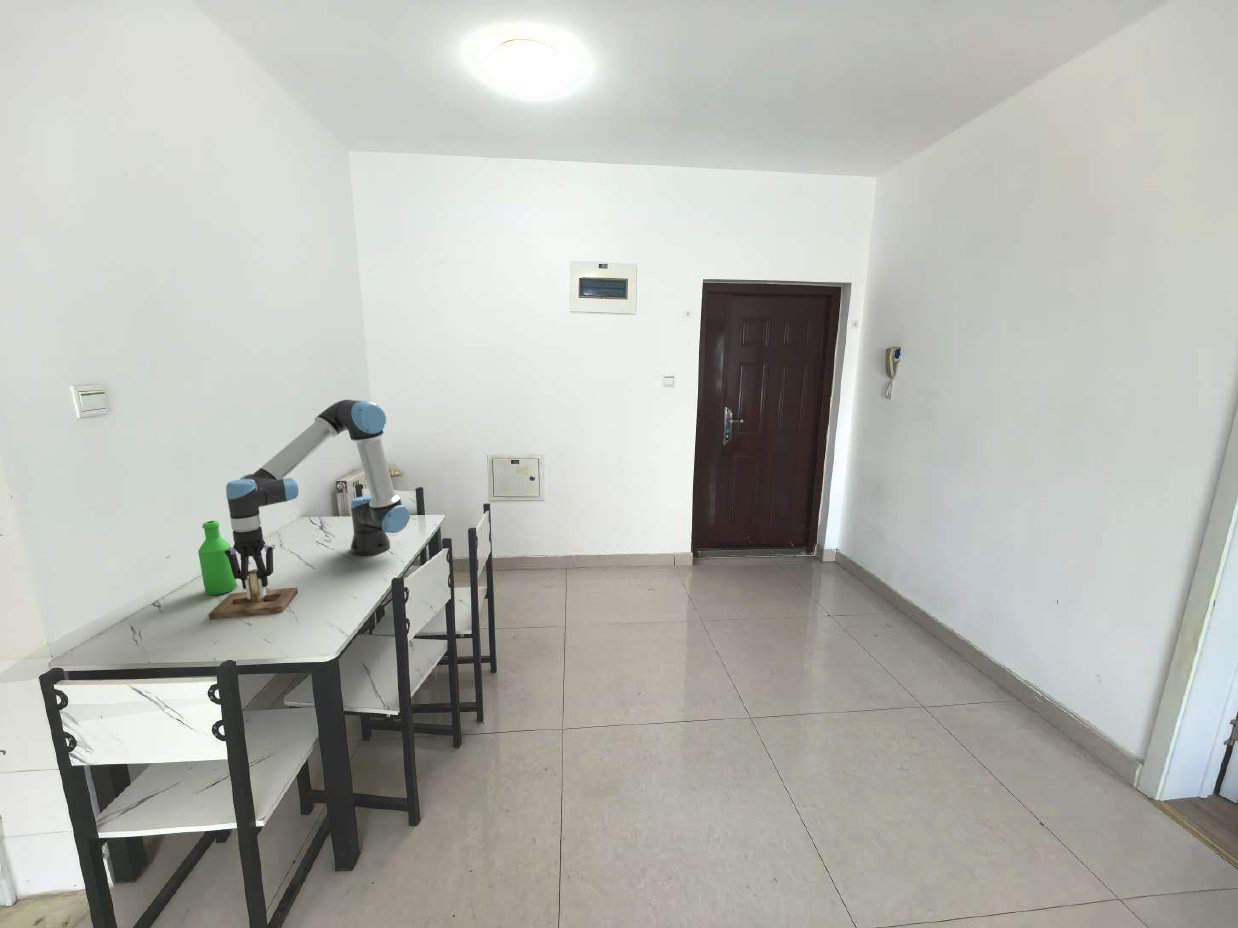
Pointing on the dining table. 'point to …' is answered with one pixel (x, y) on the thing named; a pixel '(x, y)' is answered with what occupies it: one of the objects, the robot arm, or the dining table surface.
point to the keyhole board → (253, 604)
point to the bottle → (215, 561)
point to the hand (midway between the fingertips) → (257, 596)
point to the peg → (255, 586)
